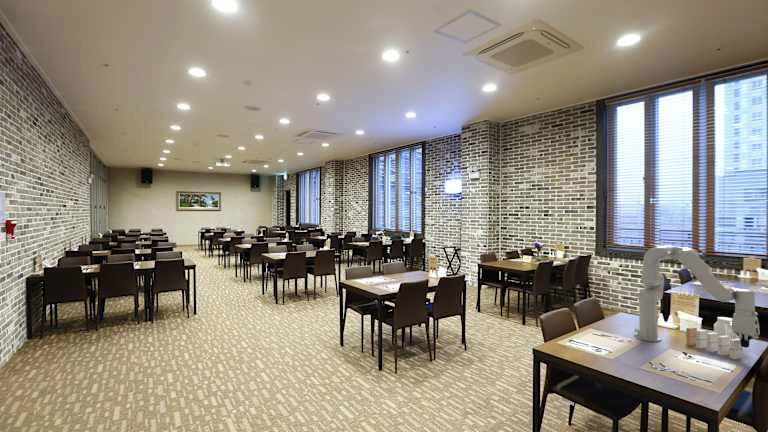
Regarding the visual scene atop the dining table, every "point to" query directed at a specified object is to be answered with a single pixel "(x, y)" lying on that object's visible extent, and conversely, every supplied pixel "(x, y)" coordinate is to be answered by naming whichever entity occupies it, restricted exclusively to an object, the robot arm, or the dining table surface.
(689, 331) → the domino
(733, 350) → the domino
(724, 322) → the jar
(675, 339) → the dining table surface
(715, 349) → the domino
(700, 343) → the domino
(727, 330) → the beer glass
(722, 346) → the domino
